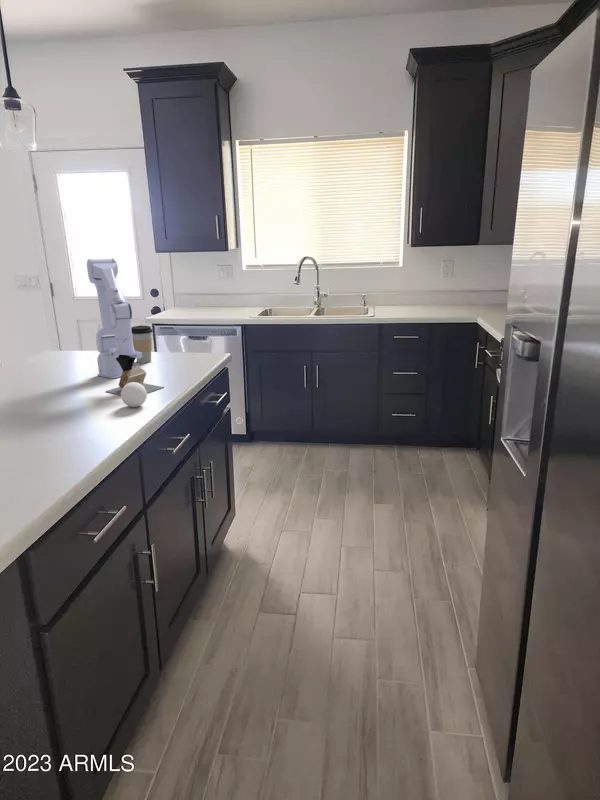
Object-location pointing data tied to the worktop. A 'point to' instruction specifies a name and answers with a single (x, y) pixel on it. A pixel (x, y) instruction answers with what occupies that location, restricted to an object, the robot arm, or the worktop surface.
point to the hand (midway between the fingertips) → (127, 376)
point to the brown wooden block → (132, 376)
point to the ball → (133, 394)
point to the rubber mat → (148, 387)
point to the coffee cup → (142, 342)
